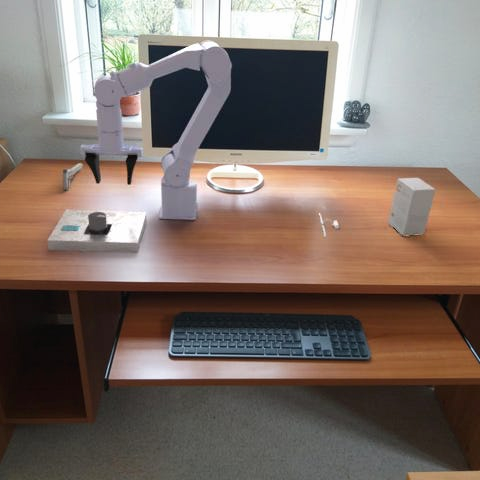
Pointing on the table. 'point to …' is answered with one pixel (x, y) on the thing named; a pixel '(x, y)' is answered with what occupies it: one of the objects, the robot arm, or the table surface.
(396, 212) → the small box
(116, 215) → the plate
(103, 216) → the cylinder
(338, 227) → the picture light
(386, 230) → the table surface
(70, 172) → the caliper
